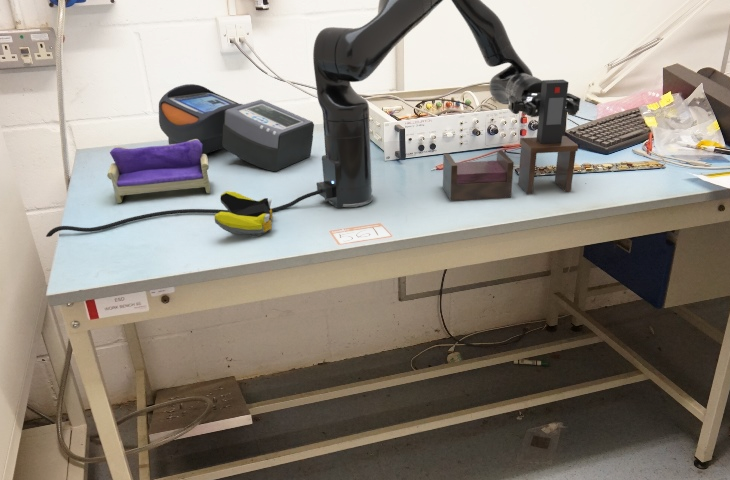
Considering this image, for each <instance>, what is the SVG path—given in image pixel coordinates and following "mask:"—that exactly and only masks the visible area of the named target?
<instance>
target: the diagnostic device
mask: <svg viewBox="0 0 730 480" xmlns="http://www.w3.org/2000/svg"><path fill="white" fill-rule="evenodd" d="M158 123H159V124H158V125H159V127H160V130H161V131H162V132H163V133H164V134H165V136H166V137H167V139H168V141H167V142H168V145H171V144H178V143H183V142H187V141H190V140H193V139H198V140H199V141H200V142H201V143H202V144H203V146H202V154H206V155H208V154H210V153H213V152H216V151H219V150H222V149H225V150H226V151H228V152H229V153H230V154H232V155H233V156H236V157H237V158H239V159H241V160H243V161H245V162H247V163H248V164H251V165H253V166H256V167H258V168H261V169H264V170H267V171H270V172H278V171H280V170H283V169H284V168H285V169H286V168H287V167H289V166H291V165H294V164H297V163H299V162H301V161H303V160H305V159H308V158H310V157H311V156H312V155H311V154H312V149H313V148H312V147H313V140H314V129H315V123H314V121H312V120H309V119H308V118H305V117H302V116H300V115H298V114H295V113H294V112H291V111H289V110H287V109H284V108H282V107H280V106H277V105H275V104H273V103H270V102H269V101H266V100H263V99H258V100H254V101H251V102H248V103H244V104H243V103H239V102H237V101H235V100H232V99H229V98H228V97H225V96H223V95H220V94H219V93H216V92H214V91H213V90H211V89H209V88H207V87H205V86H203V85H199V84H194V83H193V84H191V83H189V84H188V83H187V84H182V85H178V86H176V87H174V88H172V89H169V90H168V91H167V92H166V93H165V94H163V96H162V97H161V98H160V100H159V102H158Z"/></svg>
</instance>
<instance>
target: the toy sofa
mask: <svg viewBox="0 0 730 480" xmlns="http://www.w3.org/2000/svg"><path fill="white" fill-rule="evenodd" d="M202 146H203V144H202V143H201V142H200V141H199V140H198V139H193V140H190V141H187V142H183V143H178V144H171V145H169V144H162V145H153V146H143V147H135V148H128V147H123V146H114V147H113V149H111V150H110V151H109V154H110V156H111V158H112V160H113V161H114V162H113V163H111V164H110V166H109V169H108V172H107V174H106V177H107V179H109V180H111V183H112V187H113V192H114V195H115V200H116V203H117V204H121V203H122V202H123V199H124V196H129V195H130V196H131V195H138V194H139V195H140V194H147V193H158V192H168V191H176V190H177V191H178V190H188V189H198V188H199V189H200V188H205V192H206V194H211V185H210V184H211V183H210V179H209V173H208V170H209V168H210V166H209V159H208V154H202Z"/></svg>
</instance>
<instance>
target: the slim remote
mask: <svg viewBox="0 0 730 480" xmlns="http://www.w3.org/2000/svg"><path fill="white" fill-rule="evenodd" d="M541 80H542V88H541V98H540V108H539V116H538V121H537V129H536V137H537V139H536V140H537V141H538V142H539V143H540V144H551V143H561V142H562V136H563V132H564V124H565V118H566V117H565V116H566V115H565V114H566V111H565V108H566V100H567V93H568V92H569V91H568V90H569V81H567V80H565V79H544V80H543V79H541Z"/></svg>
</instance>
